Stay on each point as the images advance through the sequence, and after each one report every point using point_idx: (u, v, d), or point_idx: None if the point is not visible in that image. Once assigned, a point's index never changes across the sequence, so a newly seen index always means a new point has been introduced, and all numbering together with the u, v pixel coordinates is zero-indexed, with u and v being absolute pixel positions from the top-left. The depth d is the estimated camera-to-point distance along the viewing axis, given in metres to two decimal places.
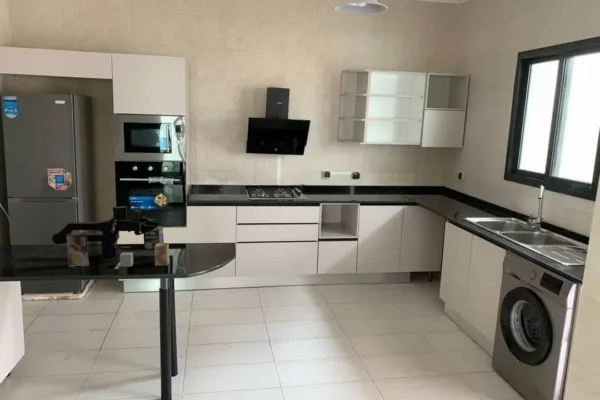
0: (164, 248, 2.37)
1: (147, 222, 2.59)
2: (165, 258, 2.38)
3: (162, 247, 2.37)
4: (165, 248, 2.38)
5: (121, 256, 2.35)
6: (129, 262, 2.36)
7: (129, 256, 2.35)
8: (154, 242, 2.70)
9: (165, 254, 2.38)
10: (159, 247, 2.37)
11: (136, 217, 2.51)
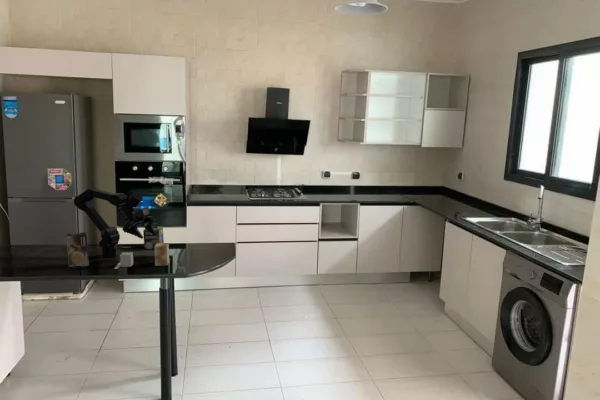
0: (164, 248, 2.37)
1: (149, 224, 2.48)
2: (165, 258, 2.38)
3: (162, 247, 2.37)
4: (165, 248, 2.38)
5: (121, 256, 2.35)
6: (129, 262, 2.36)
7: (129, 256, 2.35)
8: (154, 242, 2.70)
9: (165, 254, 2.38)
10: (159, 247, 2.37)
11: (138, 215, 2.40)
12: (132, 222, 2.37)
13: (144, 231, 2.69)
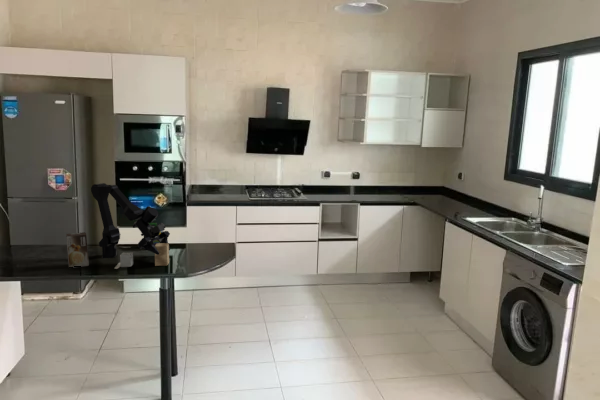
0: (164, 248, 2.37)
1: (163, 240, 2.45)
2: (165, 258, 2.38)
3: (162, 247, 2.37)
4: (165, 248, 2.38)
5: (121, 256, 2.35)
6: (129, 262, 2.36)
7: (129, 256, 2.35)
8: (154, 242, 2.70)
9: (165, 254, 2.38)
10: (159, 247, 2.37)
11: (154, 231, 2.38)
12: (148, 238, 2.34)
13: None
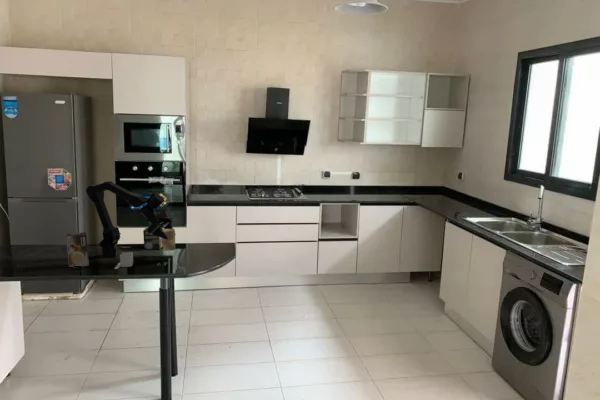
0: (172, 233, 2.43)
1: (168, 225, 2.50)
2: (173, 243, 2.44)
3: (170, 232, 2.43)
4: (173, 233, 2.43)
5: (121, 256, 2.35)
6: (129, 262, 2.36)
7: (129, 256, 2.35)
8: (154, 242, 2.70)
9: (173, 239, 2.44)
10: (167, 232, 2.42)
11: (161, 217, 2.42)
12: (157, 223, 2.38)
13: (144, 231, 2.69)
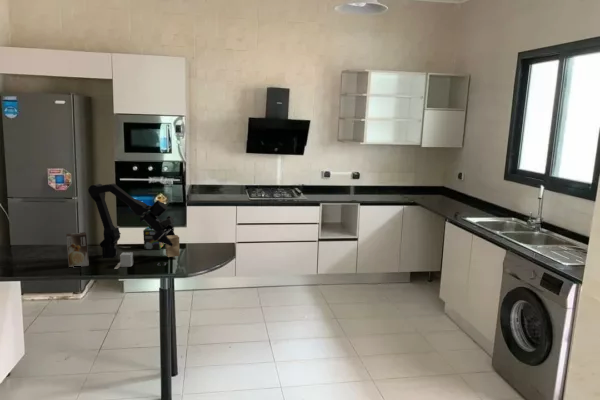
0: (177, 239, 2.49)
1: (170, 232, 2.55)
2: (177, 249, 2.50)
3: (175, 238, 2.48)
4: (178, 239, 2.49)
5: (121, 256, 2.35)
6: (129, 262, 2.36)
7: (129, 256, 2.35)
8: (154, 242, 2.70)
9: (177, 245, 2.49)
10: (172, 239, 2.48)
11: (166, 224, 2.47)
12: (162, 231, 2.43)
13: (144, 231, 2.69)
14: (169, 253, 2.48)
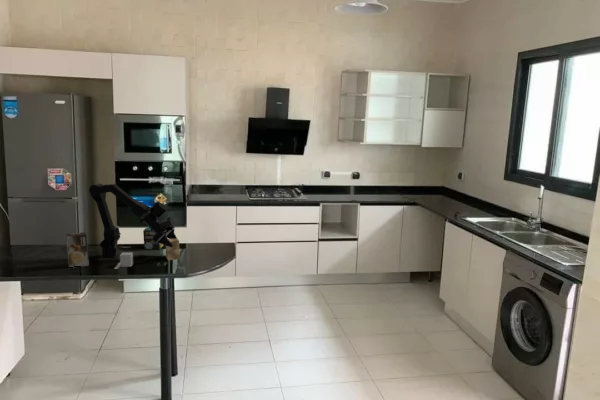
0: (176, 243, 2.49)
1: (171, 233, 2.56)
2: (177, 252, 2.50)
3: (175, 242, 2.49)
4: (177, 243, 2.49)
5: (121, 256, 2.35)
6: (129, 262, 2.36)
7: (129, 256, 2.35)
8: (154, 242, 2.70)
9: (177, 248, 2.50)
10: (172, 242, 2.48)
11: (166, 225, 2.47)
12: (163, 232, 2.43)
13: (144, 231, 2.69)
14: (169, 256, 2.48)
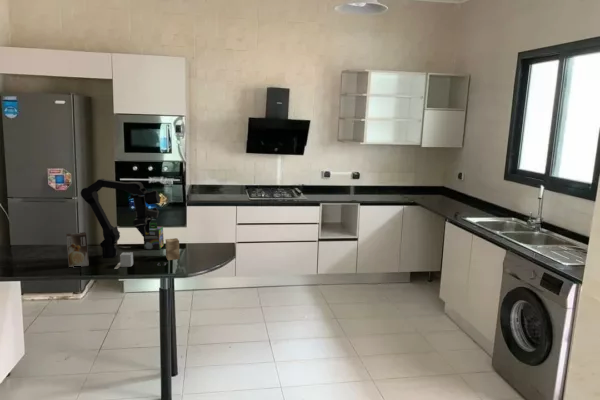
0: (176, 243, 2.49)
1: (147, 221, 2.57)
2: (177, 252, 2.50)
3: (175, 242, 2.49)
4: (177, 243, 2.49)
5: (121, 256, 2.35)
6: (129, 262, 2.36)
7: (129, 256, 2.35)
8: (154, 242, 2.70)
9: (177, 248, 2.50)
10: (172, 242, 2.48)
11: (150, 215, 2.49)
12: (145, 220, 2.45)
13: None
14: (169, 256, 2.48)
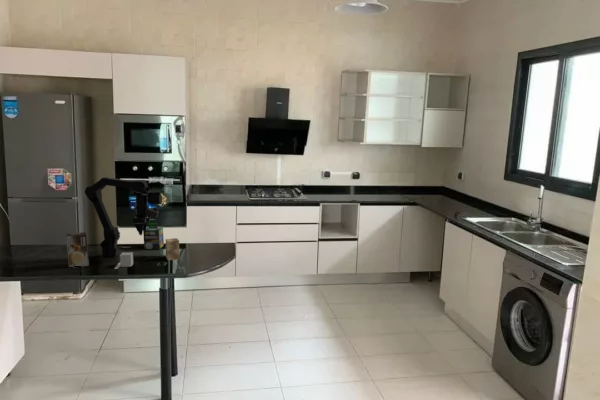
0: (176, 243, 2.49)
1: (145, 220, 2.57)
2: (177, 252, 2.50)
3: (175, 242, 2.49)
4: (177, 243, 2.49)
5: (121, 256, 2.35)
6: (129, 262, 2.36)
7: (129, 256, 2.35)
8: (154, 242, 2.70)
9: (177, 248, 2.50)
10: (172, 242, 2.48)
11: (150, 215, 2.49)
12: (145, 220, 2.45)
13: (144, 231, 2.69)
14: (169, 256, 2.48)
